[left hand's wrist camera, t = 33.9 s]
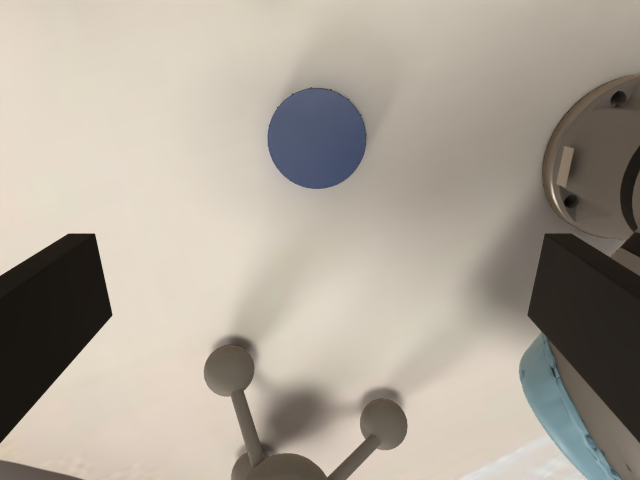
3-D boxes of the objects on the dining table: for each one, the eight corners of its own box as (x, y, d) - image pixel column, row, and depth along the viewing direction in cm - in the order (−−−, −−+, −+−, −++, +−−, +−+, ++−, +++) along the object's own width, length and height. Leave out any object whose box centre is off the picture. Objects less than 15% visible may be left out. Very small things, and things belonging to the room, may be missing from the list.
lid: (254, 158, 40) (251, 161, 39) (295, 69, 37) (294, 68, 36) (336, 200, 42) (336, 204, 40) (381, 117, 39) (384, 119, 37)
